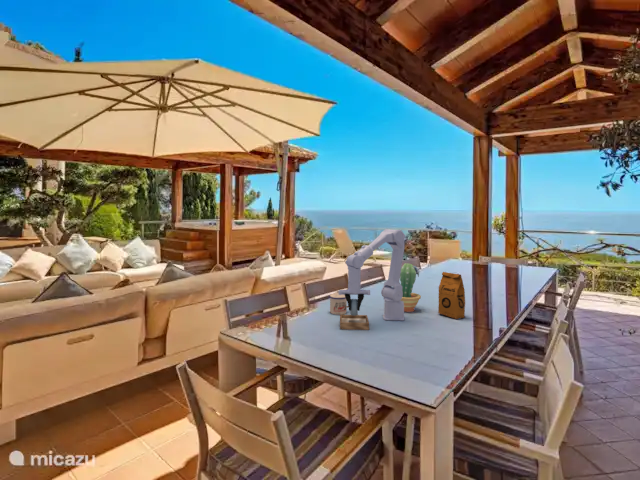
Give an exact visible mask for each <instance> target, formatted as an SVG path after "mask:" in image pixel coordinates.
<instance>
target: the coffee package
mask: <svg viewBox="0 0 640 480" xmlns="http://www.w3.org/2000/svg"><path fill="white" fill-rule="evenodd" d="M441 275H442V276H441V279H440V281H439V286H438V306H437V308H438V311H437V313H438V314H440V315H442V316H446V317H448V318H451V319H455V320H459V318H460V319H464V318H465V315H466V313H465V312H466V311H465V310H466V294H465V293H466V292H465V291H466V290H465V286H464V282H463V281H464V280H463V278H462V274H459V273H452V272H447V271H443V272H441Z"/></svg>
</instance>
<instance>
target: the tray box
mask: <svg viewBox="0 0 640 480" xmlns="http://www.w3.org/2000/svg"><path fill="white" fill-rule="evenodd" d="M339 330H354V331H355V330H356V331H357V330H358V331H359V330H360V331H362V330H363V331H369V330H370V321H369V317H368V315H367V314H358V315H355V316H354V315H350V314H342V315H339Z"/></svg>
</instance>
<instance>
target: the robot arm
mask: <svg viewBox="0 0 640 480" xmlns="http://www.w3.org/2000/svg"><path fill="white" fill-rule="evenodd" d="M405 238H406V235H405V233H404V232H403V230H402V229H389V228H385V229H383V231H381V232H380V234H379V235H378V236H377V237H376V238H375V239H374V240H372V241H371V242H370V243H369V245H367V244H364V245H362V246H361V248H360V249H358V250H357V251H355V252H354V253H353V254H350V255H348V256H347V258H346V260H345V265H346V266H347V270H348V271H347V272H348V273H347V274H348V275H347V282H348V283H347V289H339V290H338V294H339V295H345V297H346V300H347V306H348V311H349V312H350V311H351V305H350V301H351V299H352V298H351V297H352V296H353V295H354V296H355V295H356V296H357V299H358V311H360V309H361V305H362V302H363V300H364V298H365V295H366V296H371V290H370V289H361V285H362V284H361V279H362V278H361V277H362V275H361V274H362V273H361V272H362V271H361V270H362V268H363V266H364V263H366V261H367V260H368V259H369V258H371V257H372V256H373V255H374V251H375V250H377V249H378V248H379V247H381V246H382V245H384V244H385V243H387V244H388V245H389V246H390V247H391V248H392V253H391V258H390V265H389V272H388V279H387V280H386V281H385V282H384V283H383V287H382V288H381V296H382V298H383V300H384V301H383V304H384V307H383V311H384V312H383V314H382V318H383V320H384V321H404V320H405V312H404V302H403V301H400V300H401V299H402V297H403V292H402V288H403V287H402V285H401V282H400V273H401V268H402V266H403V261H404V253H405V248H406V247H405Z"/></svg>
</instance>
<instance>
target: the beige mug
mask: <svg viewBox="0 0 640 480" xmlns="http://www.w3.org/2000/svg"><path fill="white" fill-rule="evenodd" d="M348 309H349V307H348V302H347V300H346V297H345V295H339V294H338V290H336V292H334V293H332V294H330V295H329V313H330V314H332V315H338V316H340V315H347V312H348V311H347V310H348Z"/></svg>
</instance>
